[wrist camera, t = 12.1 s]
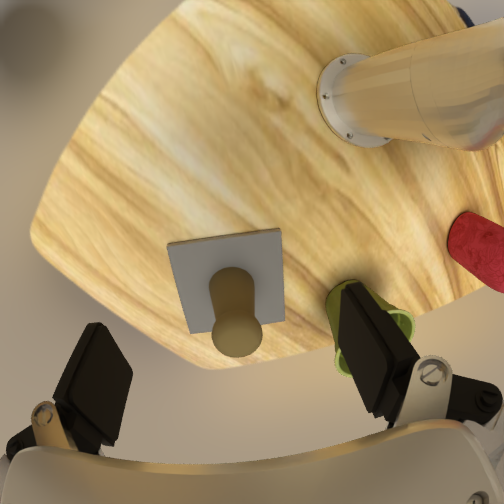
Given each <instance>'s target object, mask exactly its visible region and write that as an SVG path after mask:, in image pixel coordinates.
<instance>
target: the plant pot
mask: <svg viewBox="0 0 504 504" xmlns="http://www.w3.org/2000/svg"><path fill="white" fill-rule="evenodd" d="M354 282H359V281H357V280H349V281H345V282H344V283H343V284H341V285H338V286H336V287H335V288H334V289H333V290H332V291H331V292H330V294H329V295H328V297H327V300H326V311H327V315H328V319H329V322H330V326H331V330H332V334H333V337H334V341H335V352H336V356H335V367H336V369H337V371H338V372H339V373H340V374H341V375H343V376H346V377H350V378H353V377H352V375H351V372H350V370H349V368H348V366H347V364H346V361H345V359H344V357H343V355H342V352H341V350H340V348H339V345H338V330H339V316H340V299H341V290H342V289H345V285H346V284H350V283H354ZM362 284H363V283H362ZM363 285H364V286H365V287H366V289H367V290H368V291H369V293H370V294H371V295H372V297H373V298H374V299H375V301H376V302H377V303H378V305H379V306H380V308H381V309H382V310H386V311H387V312H388V313H389V314H390V315H391V317H392V318H393V319H394V321H395V322H396V323H397V325H398V326H399V328H400V329H401V330H402V332H403V333H404V335H405V336H406V337H407V339H408V340H409V342H411V340H412V338H413V335H414V332H415V320H414V318H413V316H412V315H411V314H410V313H409V312H407V311H405V310H402V309H398V308H396V307H395V306H393V305H391V304H389V303H388V302H386V301H385V300H384V299H383V298H381V297H380V296H379V295H377V294H376V293H375V292H374V291H372V290H371V289H370V288H368V287H367V286H366V285H365V284H363Z"/></svg>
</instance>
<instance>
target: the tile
mask: <svg viewBox="0 0 504 504" xmlns="http://www.w3.org/2000/svg"><path fill="white" fill-rule="evenodd" d="M167 250H168V255H169V259H170V263H171V267H172V271H173V275H174V279H175V282H176V286H177V290H178V293H179V297H180V301H181V304H182V308H183V311H184V315H185V318H186V321H187V325H188V328H189V331H190V334H195V333H204V332H212V328H213V325H214V323H215V321H216V319H215V315H214V310H213V306H212V301H211V297H210V292H209V281H210V279H211V278H212V276H213V275H214V274H215V273H216V272H217V271H219V270H221V269H223V268H226V267H238V268H241V269H244V270H246V271H247V272H248V273H249V274H250V275H251V276H252V278H253V280H254V285H255V317H256V318H257V320H258V321H259V323H260V325H263V324H270V323H276V322H282V321H285V306H284V281H283V259H282V240H281V230H280V229H279V228H278V229H270V230H263V231H255V232H247V233H240V234H233V235H225V236H218V237H211V238H204V239H197V240H190V241H183V242H176V243H169V244H168V245H167Z"/></svg>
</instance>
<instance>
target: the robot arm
mask: <svg viewBox="0 0 504 504" xmlns="http://www.w3.org/2000/svg"><path fill="white" fill-rule="evenodd" d="M340 62H341V63H342V64H341V63H340ZM323 95H324V96H325V99H324V98H323ZM317 100H318V105H319V109H320V111H321V114H322V116H323V118H324V120H325V121H326V123H327V125H328V126H329V127H330V129H331V130H332V131H333V132H334V133H335V134H336V135H337V136H339V137H340V138H341V139H342V140H344V141H346V142H348V143H349V144H352V145H355V146H358V147H364V148H375V147H380V146H382V145H385V144H387V143H388V142H390V141H391V140H392V139H401V140H408V141H415V142H421V143H427V144H433V145H438V146H443V147H448V148H453V149H459V150H464V151H481V150H485V149H487V148H489V147H491V146H493V145H494V144H495V143H496V142H497V141H498V140H499V139H500V138H501V137H502V136H503V135H504V17H502V18H499V19H496V20H493V21H490V22H486V23H483V24H479V25H476V26H473V27H470V28H466V29H462V30H458V31H454V32H450V33H447V34H443V35H439V36H435V37H431V38H427V39H424V40H420V41H417V42H413V43H410V44H407V45H404V46H400V47H397V48H394V49H391V50H388V51H386V52H383V53H380V54H377V55H375V56H372V57H370V56H367V55H364V54H357V53H351V54H345V55H342V56H340V57H337V58H336V59H334V60H332V61H331V62H330V63H329V64H328V65H326V66H325V68H324V70H323V71H322V73H321V75H320V77H319V80H318V85H317ZM347 134H348V137H347ZM338 345H339V348H340V350H341V352H342V355H343V357H344V359H345V361H346V364H347V366H348V368H349V370H350V372H351V375H352V377H353V379H354V381H355V384H356V386H357V388H358V391H359V393H360V395H361V398H362V400H363V402H364V405H365V407H366V410H367V411H368V413H371V412H372V413H373V415H374V417H375V418H378V417H381V416H383V415H384V418H385V420H386V421H388V423H387V426H386V428H385V430H384V431H381V432H378V433H375V434H371V435H368V436H365V437H362V438H359V439H356V440H352V441H349V442H345V443H342V444H338V445H334V446H330V447H326V448H322V449H318V450H314V451H310V452H305V453H301V454H295V455H290V456H285V457H278V458H272V459H265V460H257V461H248V462H237V463H223V464H165V463H150V462H139V461H130V460H122V459H115V458H110V457H105V455H104V453H103V452H102V450H101V448H100V447H101V444H103V445H106V446H112V447H114V443H115V441H116V440H117V439H118V435H119V431H120V426H121V422H122V417H123V413H124V409H125V404H126V400H127V396H128V392H129V388H130V384H131V381H132V376H133V371H132V368H131V367H130V365H129V363H128V362H127V360H126V359H125V357H124V356H123V354H122V352H121V351H120V349H119V347H118V346H117V344H116V342H115V341H114V339H113V337H112V335H111V334H110V332H109V330H108V328H107V327H106V326H104V325H103V324H102V323H100V322H97V323H89V324H88V325H87V326H86V328H85V330H84V332H83V333H82V335H81V337H80V339H79V341H78V343H77V345H76V347H75V349H74V351H73V353H72V355H71V357H70V359H69V361H68V363H67V365H66V368H65V370H64V372H63V374H62V376H61V378H60V381H59V383H58V385H57V387H56V390H55V392H54V394H53V397H52V398H53V399H54V400H55V401H56V402H55V405H54V404H53V403H52V402H50V401H43V402H41V403H39V404H38V405H37V406H36V407H35V408H34V410H33V412H32V415H31V423H32V425H30V426H29V427H27V428H26V429H24V430H23V431H21V432H20V433H18V434H16V435H15V436H14V437H12V438H11V439H10V440H9V441H8V443H7V447H6V454H7V455H5V454H4V455H3V456H2V457H1V459H0V504H504V400H503V398H502V394H501V392H500V391H499V389H498V388H497V387H496V386H495V385H493V384H491V383H487V382H483V381H479V380H475V379H471V378H466V377H462V376H458V375H455V374H452V369H451V366H450V365H449V363H448V362H447V361H446V360H445V359H443V358H442V357H438V356H433V355H429V356H424V357H422V358H420V356H419V355H418V354H417V352H416V350H415V349H414V348H413V346H412V345H411V343H410V342H409V340H408V339H407V337H406V336H405V335H404V333H403V332H402V330H401V329H400V328H399V326H398V325H397V323H396V322H395V321H394V319H393V318H392V317H391V315H390V314H389V313H388V312H387V311H386V310H382V309H381V308H380V306H379V305H378V303H377V302H376V301H375V299H374V298H373V297H372V295H371V294H370V293H369V291H368V290H367V289H366V287H365V286H364V285H363V284H362V282H360V281H359V282H354V283H350V284H346V285H345V289H342V290H341V299H340V316H339V330H338Z"/></svg>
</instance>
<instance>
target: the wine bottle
mask: <svg viewBox="0 0 504 504" xmlns="http://www.w3.org/2000/svg"><path fill="white" fill-rule="evenodd" d="M448 249H449V253H450V255H451V256H452V258H453V259H454V260H455V261H457V262H458V263H459V264H460V265H462V266H463V267H464V268H465V269H467V270H468V271H469V272H470V273H472V274H473V275H474V276H475V277H477V278H478V279H479V280H481V281H482V282H483V283H484V284H486V285H487V286H489V287H490V288H492V289H494V290H496V291H498V292H501V293H504V227H502V226H500V225H498V224H496V223H494V222H492V221H490V220H488V219H486V218H484V217H482V216H479V215H477V214H475V213H472V212H466V213H463V214H462V215H460V216H459V217H458V218H457V220H456V221H455V222H454V224H453V226H452V228H451V231H450V234H449V239H448Z"/></svg>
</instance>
